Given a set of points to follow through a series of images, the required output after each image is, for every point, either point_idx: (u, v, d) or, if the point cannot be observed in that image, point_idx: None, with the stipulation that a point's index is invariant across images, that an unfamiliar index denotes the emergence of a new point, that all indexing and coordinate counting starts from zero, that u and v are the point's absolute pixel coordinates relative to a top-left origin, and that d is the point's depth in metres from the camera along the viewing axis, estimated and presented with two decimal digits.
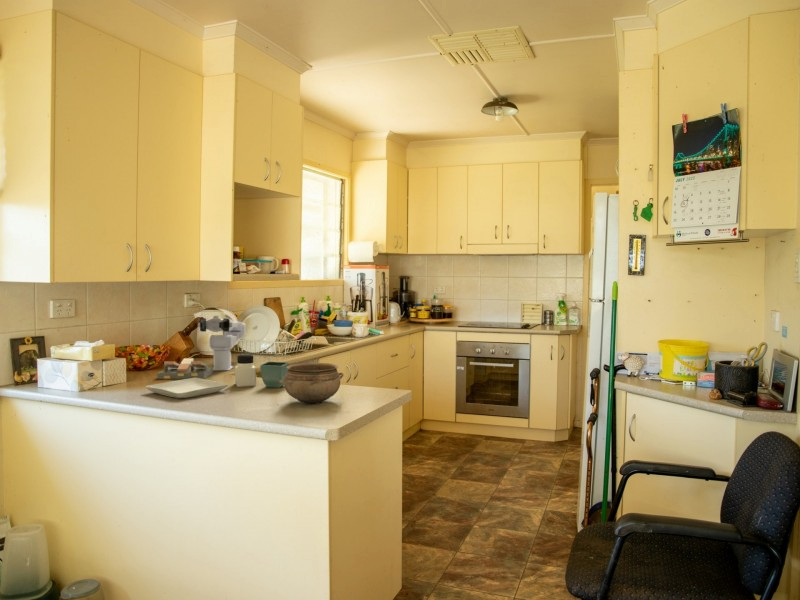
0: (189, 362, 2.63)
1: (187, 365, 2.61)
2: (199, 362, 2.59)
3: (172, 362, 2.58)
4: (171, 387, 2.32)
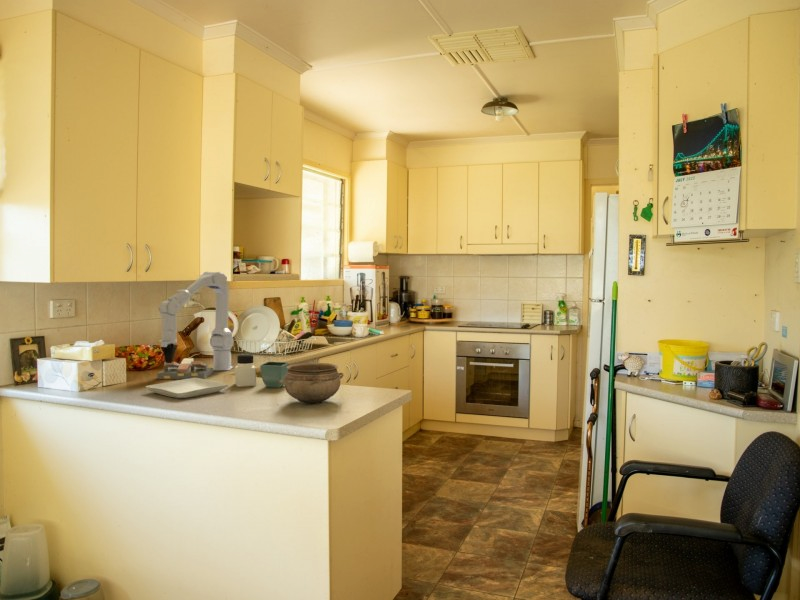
0: (189, 362, 2.63)
1: (187, 365, 2.61)
2: (199, 362, 2.59)
3: (172, 362, 2.58)
4: (171, 387, 2.32)
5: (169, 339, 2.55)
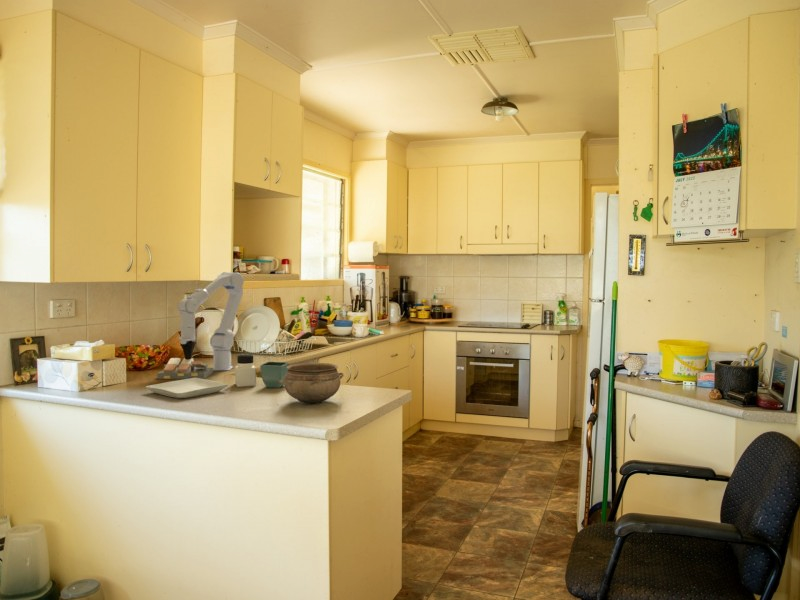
0: (189, 362, 2.63)
1: (187, 365, 2.61)
2: (199, 362, 2.59)
3: (172, 370, 2.58)
4: (171, 387, 2.32)
5: (188, 336, 2.63)
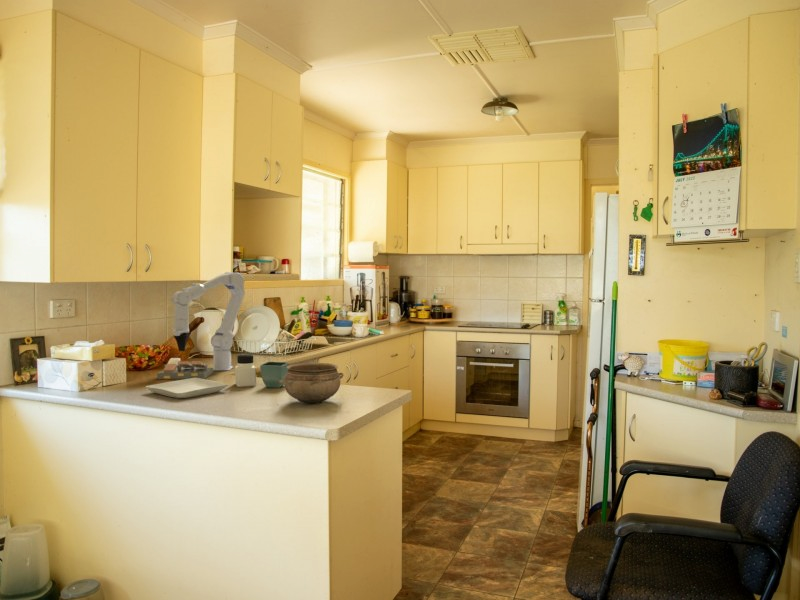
0: None
1: None
2: (199, 362, 2.59)
3: (172, 370, 2.58)
4: (171, 387, 2.32)
5: (182, 328, 2.64)
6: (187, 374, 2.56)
